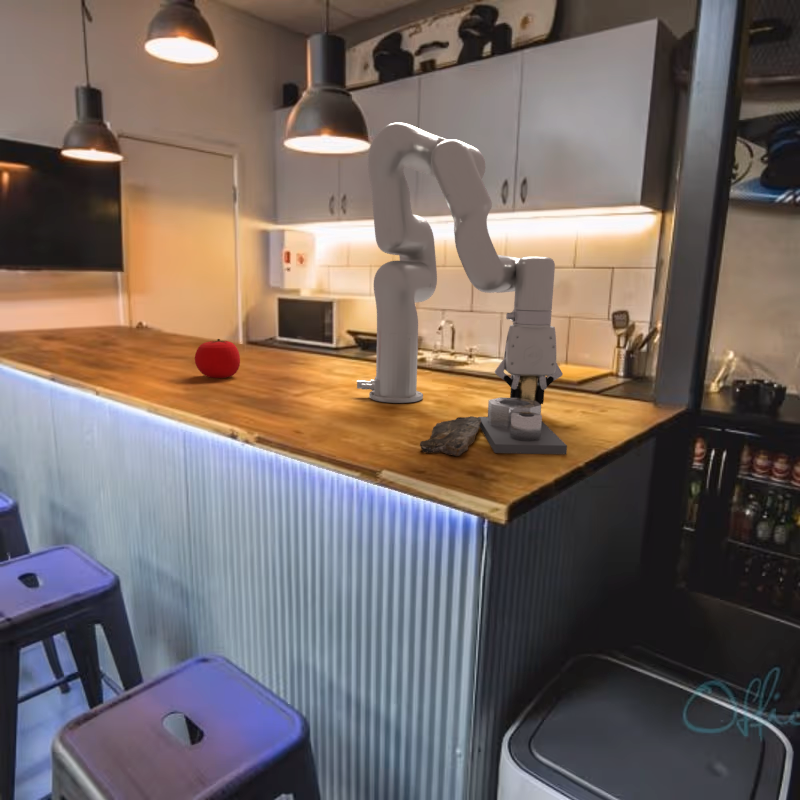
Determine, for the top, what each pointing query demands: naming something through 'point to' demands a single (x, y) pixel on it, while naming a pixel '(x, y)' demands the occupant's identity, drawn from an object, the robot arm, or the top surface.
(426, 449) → the rock
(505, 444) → the fitting board
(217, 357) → the tomato
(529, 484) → the top surface
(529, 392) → the brass nipple
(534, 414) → the sockets
